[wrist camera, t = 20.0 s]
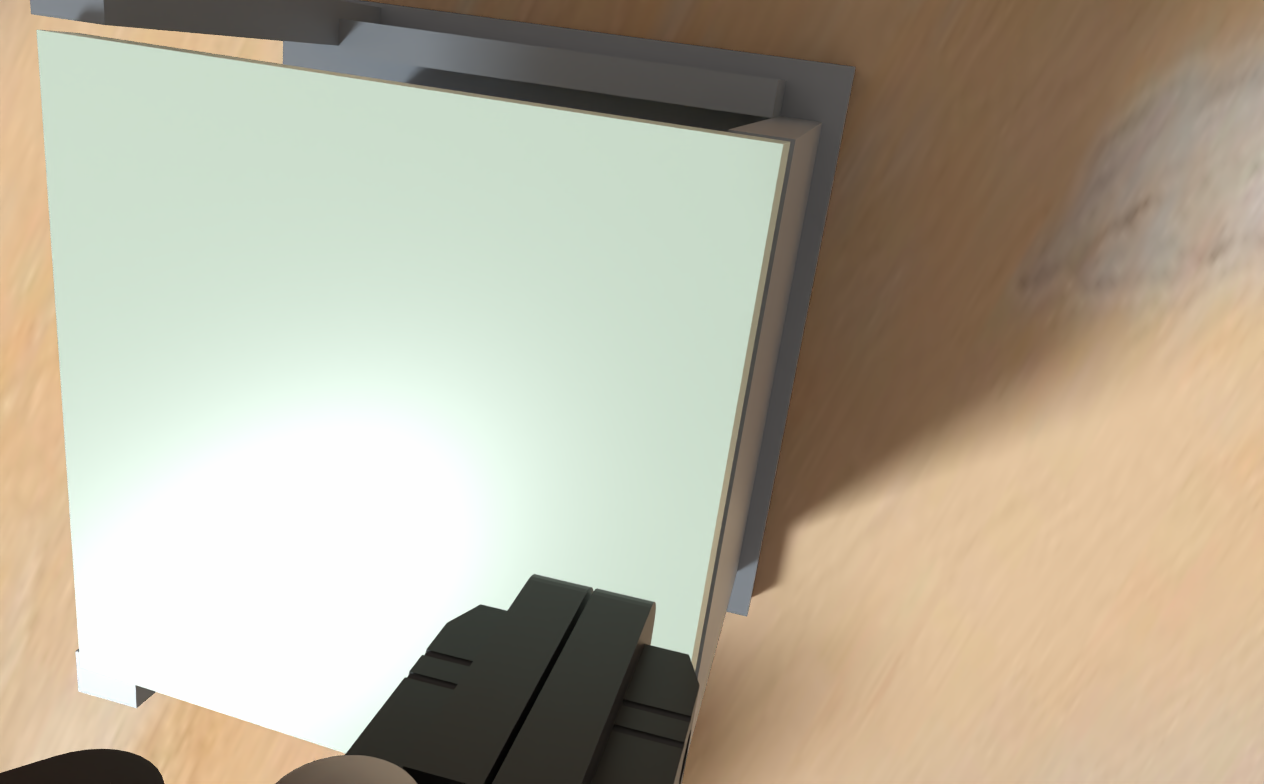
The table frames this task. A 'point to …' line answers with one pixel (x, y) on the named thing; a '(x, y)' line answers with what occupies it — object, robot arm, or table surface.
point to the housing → (599, 82)
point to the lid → (380, 365)
